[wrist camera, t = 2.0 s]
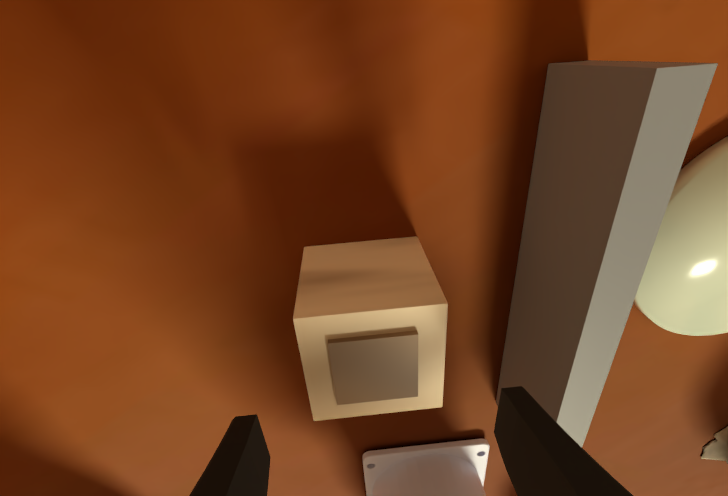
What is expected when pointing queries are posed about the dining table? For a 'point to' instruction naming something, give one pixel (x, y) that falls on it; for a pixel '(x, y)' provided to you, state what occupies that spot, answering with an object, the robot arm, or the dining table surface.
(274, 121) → the dining table surface
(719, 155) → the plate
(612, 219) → the grey rectangular bar
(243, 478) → the robot arm
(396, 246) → the cube
